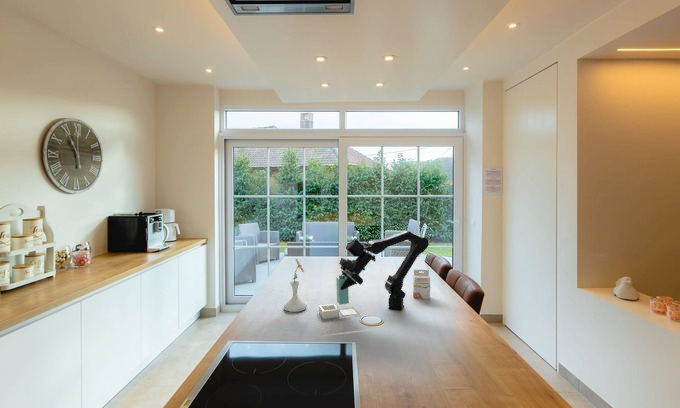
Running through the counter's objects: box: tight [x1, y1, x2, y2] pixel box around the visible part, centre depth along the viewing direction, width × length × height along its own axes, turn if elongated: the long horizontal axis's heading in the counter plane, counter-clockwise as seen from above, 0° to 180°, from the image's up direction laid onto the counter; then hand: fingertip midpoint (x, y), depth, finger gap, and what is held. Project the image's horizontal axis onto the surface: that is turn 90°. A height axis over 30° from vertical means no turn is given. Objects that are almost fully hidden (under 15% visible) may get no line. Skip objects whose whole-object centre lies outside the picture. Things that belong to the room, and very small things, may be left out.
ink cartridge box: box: [412, 269, 431, 299], centre depth 185 cm, size 9×5×15 cm, turn 84°
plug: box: [335, 274, 350, 305], centre depth 162 cm, size 4×4×13 cm
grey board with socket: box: [315, 303, 362, 322], centre depth 162 cm, size 19×13×4 cm
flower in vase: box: [283, 258, 308, 313], centre depth 169 cm, size 13×11×25 cm
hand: (339, 288), depth 161 cm, fingers closed on plug, 4 cm apart
